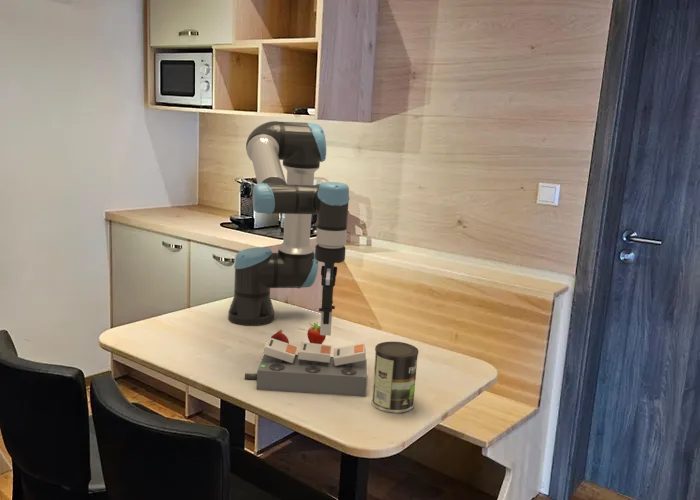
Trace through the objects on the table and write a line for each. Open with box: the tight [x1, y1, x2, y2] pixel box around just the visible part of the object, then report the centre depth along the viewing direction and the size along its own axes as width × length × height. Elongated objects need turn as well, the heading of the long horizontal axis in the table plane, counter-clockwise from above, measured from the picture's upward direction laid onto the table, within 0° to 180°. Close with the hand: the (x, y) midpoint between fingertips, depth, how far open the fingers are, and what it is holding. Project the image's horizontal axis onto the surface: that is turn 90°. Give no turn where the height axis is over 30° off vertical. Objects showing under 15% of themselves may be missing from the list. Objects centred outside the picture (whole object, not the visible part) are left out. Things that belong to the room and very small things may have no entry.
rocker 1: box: [262, 336, 299, 363], centre depth 163 cm, size 7×8×2 cm
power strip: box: [244, 354, 368, 397], centre depth 162 cm, size 12×31×6 cm, turn 89°
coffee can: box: [371, 341, 419, 414], centre depth 152 cm, size 10×10×14 cm
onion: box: [270, 329, 290, 344], centre depth 177 cm, size 6×6×8 cm
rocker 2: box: [297, 341, 333, 363], centre depth 163 cm, size 7×8×2 cm
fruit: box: [307, 322, 327, 344], centre depth 186 cm, size 5×5×8 cm
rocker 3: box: [333, 342, 367, 366], centre depth 163 cm, size 7×8×2 cm
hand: (325, 334), depth 163 cm, fingers closed
